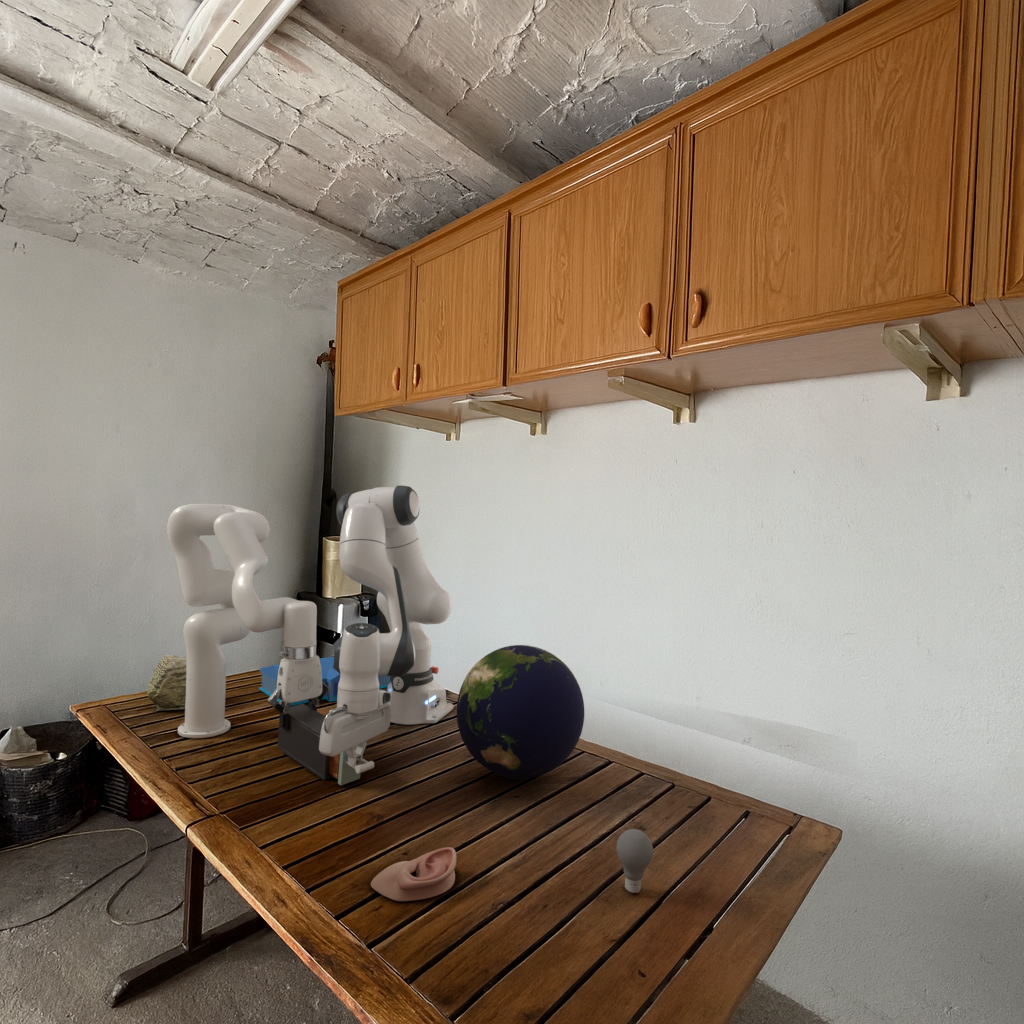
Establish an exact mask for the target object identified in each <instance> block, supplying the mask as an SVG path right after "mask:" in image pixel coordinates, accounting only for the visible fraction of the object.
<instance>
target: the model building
mask: <svg viewBox="0 0 1024 1024" xmlns="http://www.w3.org/2000/svg"><path fill="white" fill-rule="evenodd" d="M319 659H320V664H321V671H322V683H324V684H325V685H326V686H327V687H328V691H327V692H326V693H325V695H324V696H323V698H322V700H321V701H323V700H325V701H327V702H329V703H330V702H335V701H336V702H337V695H338V683H339V680H340V674H339V673H338V672H337V671H336V670H335V669H334V668H333V665H334V656H329V657H328V656H327V657H321V658H320V657H319ZM279 666H280V663H278V664H272V665H268V666H264V667H263V666H262V667H260V668H259V672H260V673H261V686H260V687H258V690H260V691H261V692H262V693H264V694H265V695H267V696H268V697H270V696H271V695H272V694H273V692H274V691H275V690H276V689H277V678H278V671H279ZM378 680H379V689H380V690H382V689H385V688H388V685H389V684H390V683H391V681H390V676H387V675H378ZM277 702H278V703H279V704H280V702H281V700H280V699H278V698H277ZM307 703H309V701H308V700H303V701H299V702H295V703H291V705H290V707H292V706H296V705H300V704H307Z"/></svg>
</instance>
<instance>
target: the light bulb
mask: <svg viewBox="0 0 1024 1024" xmlns="http://www.w3.org/2000/svg"><path fill="white" fill-rule="evenodd" d="M615 849H616V854H617V857H618V859H619V861H620V863H621V865H622V867H623V873H624V874H623V875H624V876H625V878H624V888H625V890H627V891H628V892H630V893H634V894H635V893H639V892H640V891H641V889H642V887H641V886H642V879H643V877H644V875H645V871H646V868H647V867H648V866H649V864H650V863H651V861H652V859H653V855H654V847H653V843H652V841H651V838H649V836H648V835H647V834H646V833H645V832H643V831H642V830H641V829H636V828H629V829H627V830H625V831H623V832H622V833H621V834H620V835H619V837H618V839H617V841H616V847H615Z"/></svg>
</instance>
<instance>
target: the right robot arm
mask: <svg viewBox="0 0 1024 1024" xmlns="http://www.w3.org/2000/svg"><path fill="white" fill-rule="evenodd" d="M420 509H421V508H420V500H419V496H418V494H417V492H416V491H415V490H414V489H413V487H411V486H408V485H396V486H379V487H373V488H369V489H365V490H364V489H363V490H359V491H357V492H355V491H353V492H352V491H351V492H349V493H345V494H343V495H342V496H341V497H340V498H339V500H338V501H337V503H336V519H337V521H338V523H339V525H340V526H341V528H340V535H339V549H338V553H339V566H340V568H341V570H342V571H343V573H344V574H345V575H346V576H347V577H348V578H349V579H350V580H352V581H354V582H356V583H358V584H360V585H363V586H365V587H368V588H371V589H372V590H373V589H374V590H375V591H377V595H376V605H377V607H378V609H379V611H380V612H381V613H382V614H383V616H384V617H385V620H386V623H387V625H388V629H389V632H380V629H379V628H378V627H377V626H376V625H374V624H371V623H367V622H355V623H351V624H348V625H346V626H345V627H344V629H343V633H342V635H341V636H340V637H339V638H338V639H337V640H335V642H334V643H333V657H334V665H333V668H334V669H335V670H336V671H337V672H338V673H339V674H340V680H339V683H338V695H337V701H336V708H332V709H330V710H329V711H328V713H327V714H326V715H325V716H326V717H325V719H324V722H323V724H322V729H321V735H320V742H319V751H320V752H321V754H323V755H327V756H331V757H333V756H336V755H338V754H340V753H342V752H344V751H345V752H346V754H347V756H348V764H349V765H351V766H354V765H356V764H358V763H360V762H361V763H362V758H363V754H364V753H365V750H366V748H367V745H368V741H369V740H372V739H373V738H376V737H378V736H380V735H382V734H384V733H386V732H387V731H388V730H389V728H390V726H391V723H393V724H398V725H421V724H436V723H438V722H439V721H440V720H442V719H443V718H444V717H445V716H446V715H448V714H449V713H450V712H451V711H453V710H454V709H455V706H454V704H453V703H451V702H449V701H447V694H448V693H449V689H445V688H444V687H443V686H442V685H441V684H439V682H438V681H436V680H435V679H434V674H435V675H437V674H438V673H439V670H440V669H439V666H434V665H433V666H431V655H432V642H431V640H430V638H429V637H428V635H427V634H426V633H425V631H424V630H423V627H422V625H439V624H440V625H441V624H442V623H445V622H446V621H447V620H448V619H449V617H450V615H451V613H452V610H453V601H452V597H451V595H450V594H449V593H448V592H447V591H446V590H445V589H444V588H442V586H441V585H440V584H439V583H438V581H437V580H436V579H435V577H434V575H433V574H432V572H431V570H430V568H429V567H428V565H427V563H426V561H425V557H424V554H423V550H422V547H421V542H420V538H419V534H418V530H417V527H416V524H415V522H416V520H418V517H419V516H420ZM378 675H387V676H390V681H391V683H390V684H389V685H388V687H387V690H385V689H379V680H378Z"/></svg>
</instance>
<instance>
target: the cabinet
mask: <svg viewBox="0 0 1024 1024" xmlns="http://www.w3.org/2000/svg"><path fill="white" fill-rule="evenodd" d="M288 714H290V726H289V730H287V731H286V730H284V729H282V728H281V727H280V725H279V724H278V733H277V734H278V735H277V749H278V750H279V751H280V752H282V753H284V754H285V755H286V756H288V757H289V758H291V759H292V760H293V761H295V762H297V763H298V764H300V766H302V767H304V768H305V769H307V770H308V771H309V772H311V773H312V774H314V775H315V776H317V777H318V778H319V779H321V780H323V781H327V780H330V779H332V778H333V779H334V777H333V776H332V775H330V774H329V773H327V772H328V759H329V756H327V755H323V754H321V752H320V751H319V742H320V735H321V729H322V724H323V722H324V719H325V717H326V716H327V715H324V714H323V713H320V712H318V710H317V711H315V710H313V709H311V708H310V707H308V706H307V705H306V704H305V703H302V704H297V705H292V706H290V707H289V710H288Z"/></svg>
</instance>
